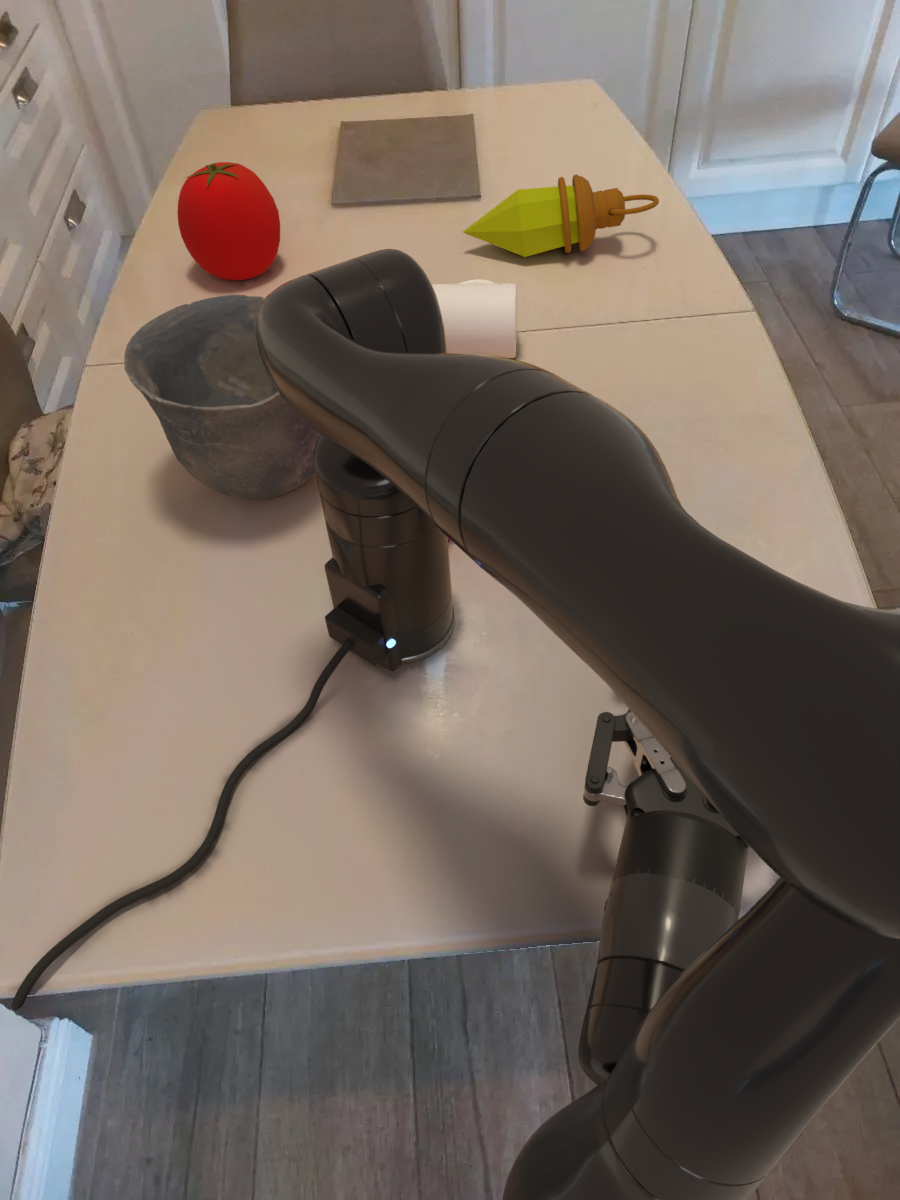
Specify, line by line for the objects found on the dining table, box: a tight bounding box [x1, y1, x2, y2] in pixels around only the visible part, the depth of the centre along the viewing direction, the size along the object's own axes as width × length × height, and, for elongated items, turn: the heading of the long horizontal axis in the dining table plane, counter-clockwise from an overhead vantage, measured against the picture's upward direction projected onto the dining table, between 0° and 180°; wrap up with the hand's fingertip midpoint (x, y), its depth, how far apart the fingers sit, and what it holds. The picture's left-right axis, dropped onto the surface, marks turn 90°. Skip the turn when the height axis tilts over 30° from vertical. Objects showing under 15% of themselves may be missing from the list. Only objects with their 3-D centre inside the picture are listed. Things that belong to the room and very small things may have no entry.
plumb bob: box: [462, 173, 660, 258], centre depth 116 cm, size 9×9×25 cm
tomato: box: [176, 161, 281, 281], centre depth 114 cm, size 13×11×14 cm
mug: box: [431, 278, 518, 359], centre depth 103 cm, size 12×10×8 cm
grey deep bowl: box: [123, 294, 320, 501], centre depth 87 cm, size 18×18×15 cm
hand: (712, 693), depth 64 cm, fingers open, 8 cm apart
